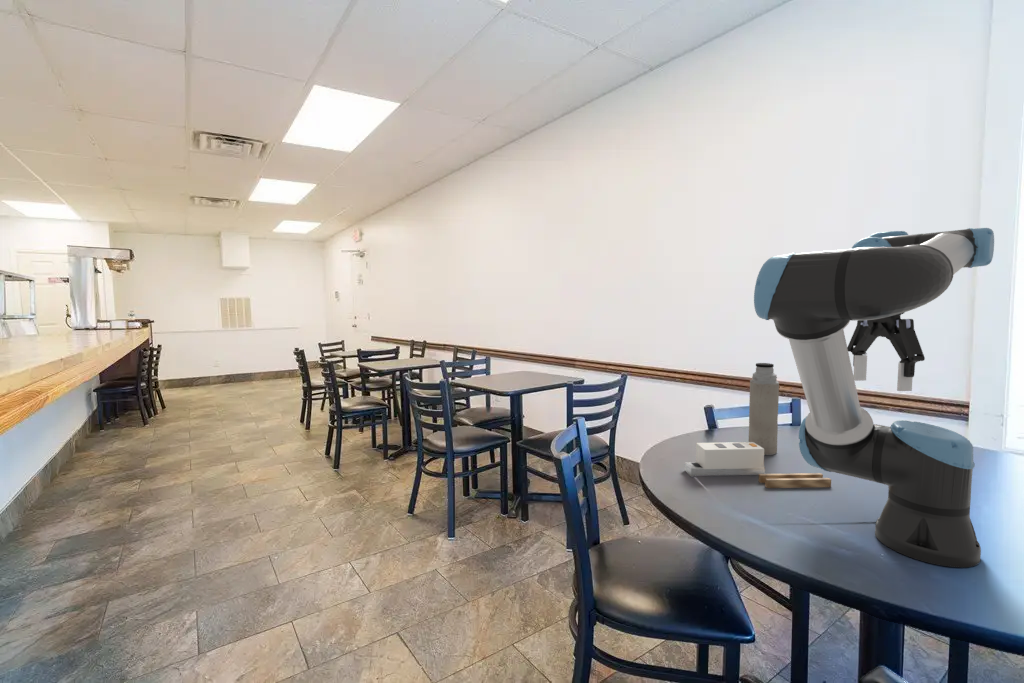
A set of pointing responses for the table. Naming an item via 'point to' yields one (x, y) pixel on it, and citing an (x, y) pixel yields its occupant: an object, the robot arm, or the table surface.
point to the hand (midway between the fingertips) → (880, 385)
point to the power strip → (729, 455)
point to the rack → (794, 480)
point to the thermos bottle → (764, 408)
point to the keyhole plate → (719, 470)
